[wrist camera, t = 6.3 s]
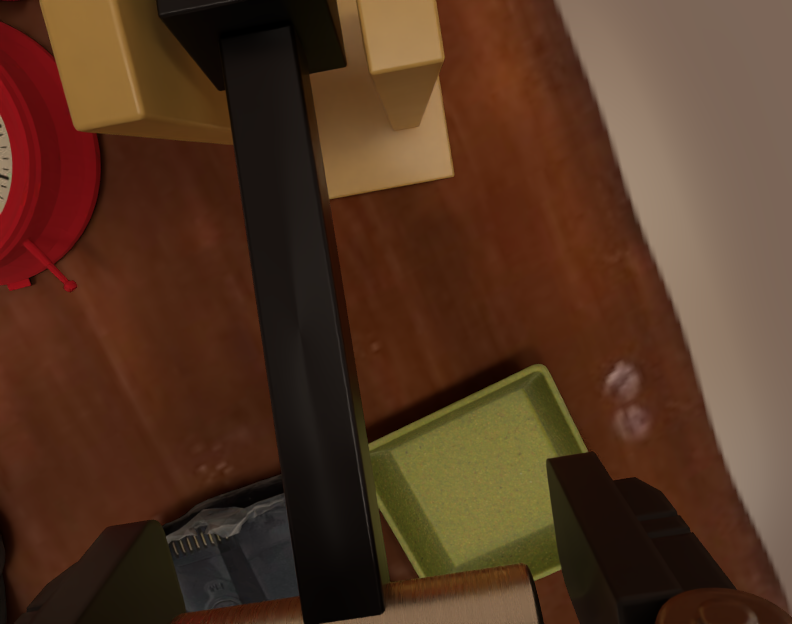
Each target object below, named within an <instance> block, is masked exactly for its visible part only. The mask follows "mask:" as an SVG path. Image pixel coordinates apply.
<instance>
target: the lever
mask: <svg viewBox="0 0 792 624" xmlns="http://www.w3.org/2000/svg"><path fill="white" fill-rule="evenodd" d="M156 4H157V11H158V16H159V18H160V19H161V20H162V22H163V23H164V24H165V25H166V27H167V28H168V29H169V30H170V32H171V33H172V34H173V35H174V36H175V38H176V39H177V40H178V41H179V43H180V44H181V45H182V46H183V48H184V49H185V50H186V51H187V53H188V54H189V55H190V56H191V58H192V59H193V60H194V61H195V63H196V64H197V65H198V66H199V68H200V69H201V70H202V71H203V72H204V74H205V75H206V76H207V77H208V79H209V80H210V81H211V82H212V84H213V85H214V86H215V87H216V89H217V90H218V91H226V98H227V105H228V112H229V119H230V126H231V133H232V139H233V146H234V153H235V160H236V167H237V174H238V180H239V187H240V194H241V201H242V208H243V215H244V221H245V228H246V235H247V242H248V249H249V256H250V262H251V269H252V276H253V283H254V290H255V297H256V304H257V310H258V317H259V324H260V331H261V338H262V345H263V351H264V358H265V365H266V372H267V379H268V386H269V392H270V399H271V406H272V413H273V420H274V427H275V434H276V440H277V447H278V454H279V461H280V468H281V475H282V481H283V488H284V495H285V502H286V509H287V516H288V522H289V529H290V536H291V543H292V550H293V557H294V563H295V570H296V577H297V584H298V591H299V596H296V597H289V598H283V599H276V600H269V601H263V602H256V603H249V604H243V605H236V606H229V607H222V608H216V609H209V610H202V611H196V612H189V613H182V614H179V615H178V616H176V617H174V618H173V619H172V620H171V621H170V622H169V624H544V622H543V617H542V612H541V607H540V603H539V599H538V595H537V591H536V587H535V583H534V579H533V576H532V573H531V571H530V569H529V567H528V566H527V564H524V563H517V564H510V565H504V566H497V567H490V568H484V569H477V570H470V571H464V572H457V573H450V574H443V575H437V576H430V577H423V578H417V579H410V580H403V581H397V582H390V578H389V572H388V565H387V559H386V553H385V547H384V540H383V534H382V528H381V522H380V515H379V509H378V503H377V496H376V490H375V484H374V478H373V471H372V465H371V459H370V452H369V446H368V440H367V434H366V427H365V421H364V415H363V408H362V402H361V396H360V390H359V383H358V377H357V371H356V364H355V358H354V352H353V346H352V339H351V333H350V327H349V320H348V314H347V308H346V302H345V295H344V289H343V283H342V276H341V270H340V264H339V258H338V251H337V245H336V239H335V232H334V226H333V220H332V214H331V207H330V201H329V195H328V188H327V182H326V176H325V170H324V163H323V157H322V151H321V144H320V138H319V132H318V126H317V119H316V113H315V107H314V100H313V94H312V88H311V82H310V75H309V74H313V73H318V72H324V71H329V70H334V69H339V68H344V67H346V66H347V60H346V54H345V48H344V42H343V36H342V30H341V24H340V18H339V12H338V5H337V0H156Z"/></svg>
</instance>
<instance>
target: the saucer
mask: <svg viewBox="0 0 792 624" xmlns="http://www.w3.org/2000/svg"><path fill="white" fill-rule="evenodd" d="M368 446H369V452H370V459H371V465H372V471H373V478H374V484H375V490H376V496H377V503H378V508H379V509H380V511H381V512H382V514H383V516H384V518H385V519H386V521H387V522H388V524H389V526H390V528H391V529H392V531H393V533H394V534H395V536H396V538H397V540H398V541H399V543H400V545H401V546H402V548H403V550H404V552H405V553H406V555H407V557H408V559H409V560H410V562H411V564H412V566H413V568H414V569H415V571H416V573H417V574H418V576H419V578H423V577H430V576H437V575H443V574H450V573H457V572H464V571H470V570H477V569H484V568H490V567H497V566H504V565H510V564H517V563H524V564H527V566H528V567H529V569H530V571H531V573H532V576H533V579H534V581H536V580H537V579H540V578H543V577H545V576H547V575H550V574H552V573H554V572H556V571H559V570H561V565H560V560H559V555H558V549H557V543H556V535H555V528H554V521H553V514H552V507H551V500H550V492H549V485H548V478H547V470H546V460H547V459H548V458H554V457H560V456H567V455H573V454H580V453H586V452H588V450H587V448H586V446H585V444H584V442H583V440H582V438H581V436H580V434H579V431H578V430H577V428H576V425H575V424H574V422H573V419H572V418H571V416H570V413H569V411H568V409H567V407H566V405H565V403H564V401H563V399H562V397H561V395H560V393H559V391H558V389H557V387H556V385H555V382H554V380H553V378H552V376H551V375H550V373H549V371H548V369H547V368H546V367H545V366H544V365H542V364H535V365H532V366H530V367H527V368H525V369H523V370H521V371H519V372H517V373H515V374H513V375H511V376H509V377H507V378H505V379H503V380H501V381H499V382H497V383H494V384H492V385H490V386H488V387H486V388H484V389H482V390H480V391H478V392H476V393H473V394H471V395H469V396H467V397H465V398H463V399H461V400H459V401H457V402H455V403H453V404H450V405H448V406H446V407H444V408H442V409H440V410H438V411H436V412H434V413H432V414H430V415H428V416H425V417H423V418H421V419H419V420H417V421H415V422H413V423H411V424H409V425H407V426H404V427H403V428H401V429H398V430H396V431H394V432H392V433H390V434H388V435H386V436H384V437H382V438H380V439H378V440H376V441H373V442H371V443H369V444H368Z"/></svg>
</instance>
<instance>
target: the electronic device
mask: <svg viewBox="0 0 792 624" xmlns="http://www.w3.org/2000/svg"><path fill="white" fill-rule="evenodd" d="M162 527H163V530H164V532H165V535H166V538H167V542H168V546H169V549H170V553H171V556H172V560H173V563H174V567H175V570H176V574H177V577H178V581H179V584H180V588H181V592H182V595H183V599H184V603H185V608H186V613H189V612H196V611H202V610H209V609H216V608H222V607H229V606H236V605H243V604H249V603H256V602H263V601H269V600H276V599H283V598H289V597H296V596H299V591H298V584H297V577H296V570H295V563H294V557H293V550H292V543H291V536H290V529H289V522H288V516H287V509H286V502H285V495H284V488H283V481H282V475H281V474H280V475H277V476H274V477H271V478H268V479H265V480H262V481H259V482H257V483H254V484H251V485H248V486H246V487H243V488H240V489H237V490H233V491H230V492H227V493H224V494H221V495H219V496H216V497H213V498H211V499H208V500H206V501H204V502H202V503H200V504H197V505H195V506H194V507H193V508H192V509H191V510H190V511H189V512H187V513H186V514H185V515H183V516H182V517H180V518H179V519H177V520H174V521H172V522H170V523H167V524H165V525H163V526H162Z"/></svg>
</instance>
